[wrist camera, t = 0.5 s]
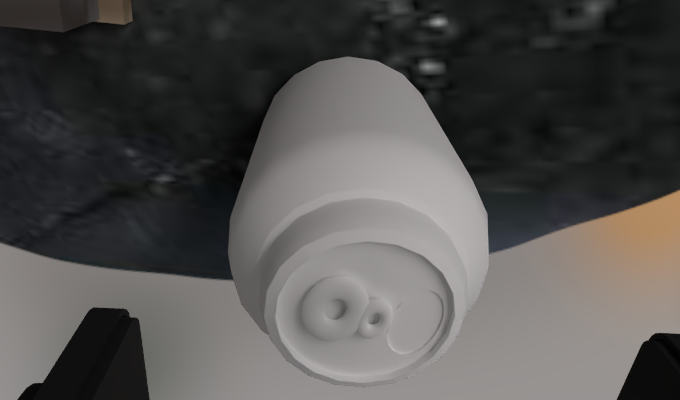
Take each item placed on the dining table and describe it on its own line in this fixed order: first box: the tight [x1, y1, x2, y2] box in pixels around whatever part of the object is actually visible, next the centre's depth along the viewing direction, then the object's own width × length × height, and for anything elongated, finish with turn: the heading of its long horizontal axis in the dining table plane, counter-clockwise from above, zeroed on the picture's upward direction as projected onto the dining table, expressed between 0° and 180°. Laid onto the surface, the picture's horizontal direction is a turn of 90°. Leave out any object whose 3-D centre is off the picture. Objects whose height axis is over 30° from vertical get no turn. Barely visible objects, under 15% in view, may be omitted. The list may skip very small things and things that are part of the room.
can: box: [228, 57, 489, 387], centre depth 29 cm, size 12×12×20 cm
